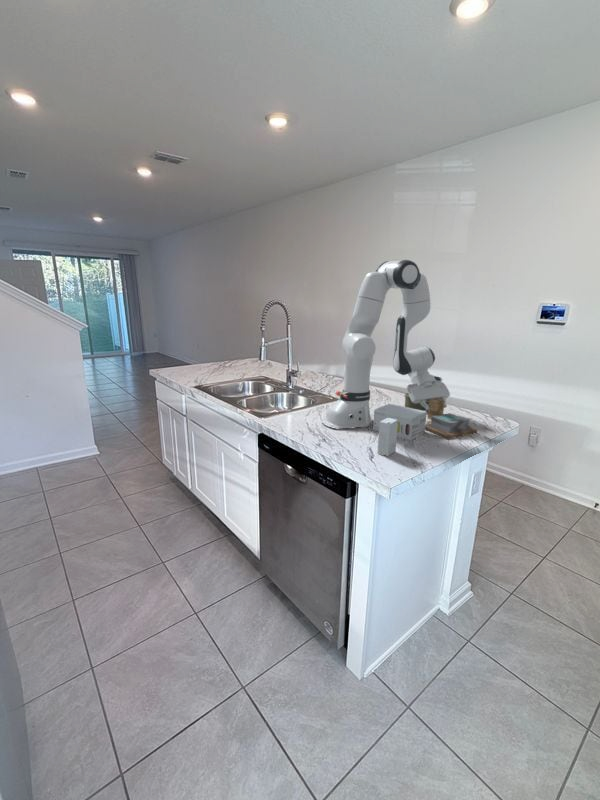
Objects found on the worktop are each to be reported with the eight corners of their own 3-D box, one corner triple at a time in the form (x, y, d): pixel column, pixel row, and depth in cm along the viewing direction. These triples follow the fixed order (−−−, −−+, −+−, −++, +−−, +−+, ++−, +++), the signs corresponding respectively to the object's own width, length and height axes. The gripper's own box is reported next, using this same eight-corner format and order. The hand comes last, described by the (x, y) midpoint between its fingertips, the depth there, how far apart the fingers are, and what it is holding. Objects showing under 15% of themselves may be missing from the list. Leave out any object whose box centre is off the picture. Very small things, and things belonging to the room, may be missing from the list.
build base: (446, 439, 142) (448, 425, 140) (421, 428, 154) (422, 415, 153) (476, 433, 148) (478, 419, 146) (450, 423, 160) (451, 410, 159)
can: (433, 408, 183) (434, 395, 181) (423, 413, 174) (424, 399, 172) (410, 404, 190) (411, 391, 188) (399, 409, 181) (400, 395, 180)
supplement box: (372, 431, 152) (373, 409, 149) (388, 423, 161) (389, 403, 159) (410, 441, 141) (412, 418, 138) (425, 432, 150) (427, 410, 147)
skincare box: (384, 448, 133) (386, 416, 130) (396, 451, 130) (398, 419, 127) (376, 453, 129) (378, 421, 126) (388, 457, 126) (390, 423, 123)
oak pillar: (434, 421, 163) (436, 401, 160) (427, 418, 167) (429, 399, 164) (442, 420, 165) (444, 400, 162) (435, 417, 169) (437, 398, 166)
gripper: (408, 381, 163) (422, 407, 157) (443, 377, 171) (458, 402, 165) (401, 388, 169) (414, 414, 163) (436, 384, 177) (449, 409, 170)
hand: (436, 408), depth 164 cm, fingers open, 8 cm apart
